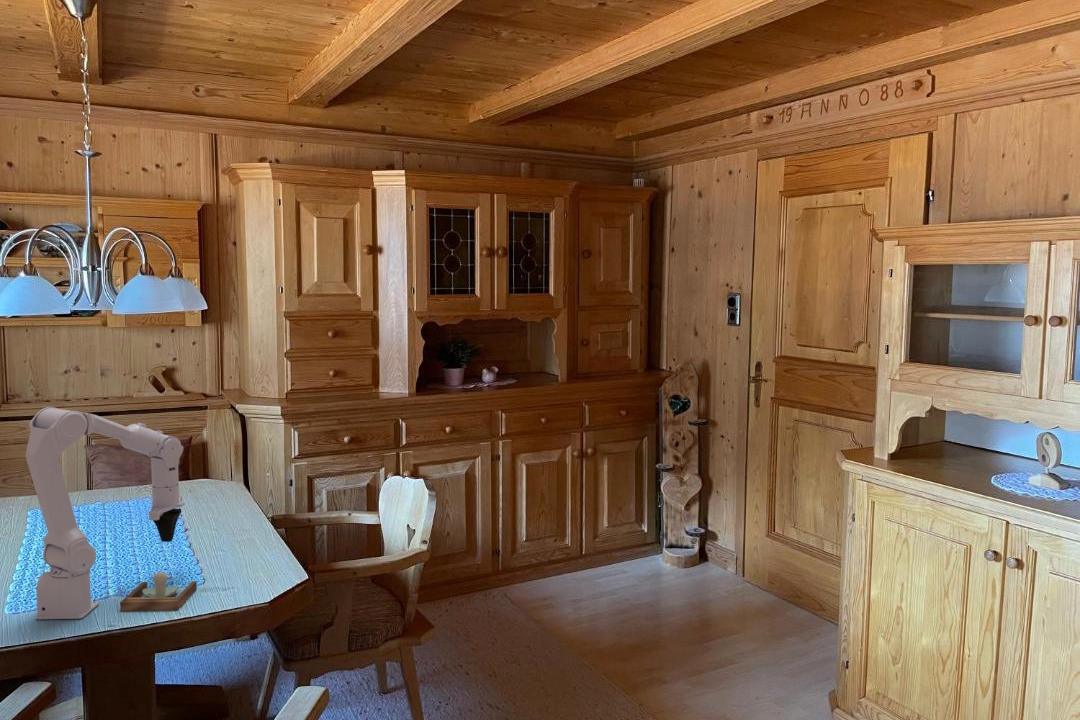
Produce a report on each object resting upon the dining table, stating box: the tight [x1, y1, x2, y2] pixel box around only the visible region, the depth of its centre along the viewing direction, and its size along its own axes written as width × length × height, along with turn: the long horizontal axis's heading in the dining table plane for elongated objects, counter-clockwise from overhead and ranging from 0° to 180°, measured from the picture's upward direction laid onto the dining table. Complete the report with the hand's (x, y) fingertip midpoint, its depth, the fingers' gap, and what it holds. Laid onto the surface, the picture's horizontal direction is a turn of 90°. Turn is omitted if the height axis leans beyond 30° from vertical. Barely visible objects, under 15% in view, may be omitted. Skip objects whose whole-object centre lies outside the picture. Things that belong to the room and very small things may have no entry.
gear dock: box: [119, 580, 198, 612], centre depth 176 cm, size 12×12×2 cm
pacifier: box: [142, 571, 179, 598], centre depth 178 cm, size 7×6×6 cm
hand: (167, 540), depth 187 cm, fingers closed
